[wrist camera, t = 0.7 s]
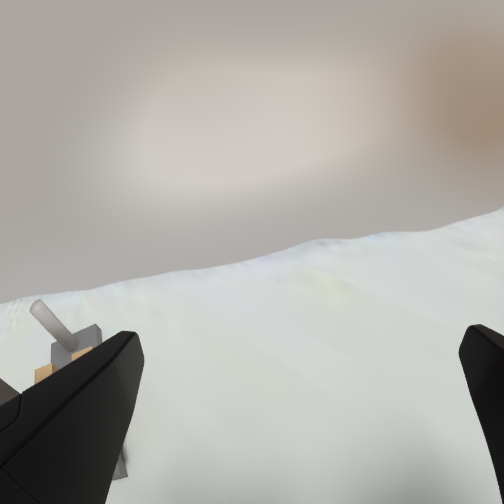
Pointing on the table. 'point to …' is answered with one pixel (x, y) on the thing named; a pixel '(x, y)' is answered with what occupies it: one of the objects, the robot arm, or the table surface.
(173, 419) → the table surface
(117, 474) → the rail
